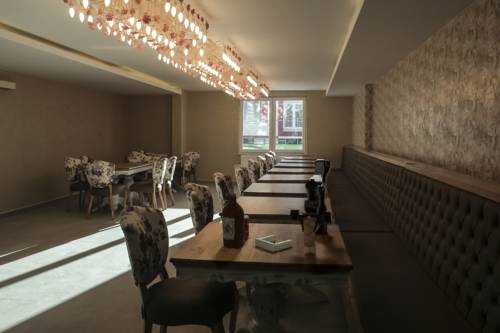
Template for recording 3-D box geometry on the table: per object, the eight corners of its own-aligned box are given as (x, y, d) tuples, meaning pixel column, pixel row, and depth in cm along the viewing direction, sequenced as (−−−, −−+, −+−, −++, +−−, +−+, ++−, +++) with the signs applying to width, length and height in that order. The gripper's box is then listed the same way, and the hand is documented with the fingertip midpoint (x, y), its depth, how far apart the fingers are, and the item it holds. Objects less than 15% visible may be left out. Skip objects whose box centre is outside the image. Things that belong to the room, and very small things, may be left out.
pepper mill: (311, 243, 178) (311, 214, 176) (316, 246, 173) (316, 217, 172) (301, 244, 176) (302, 215, 175) (306, 247, 172) (306, 217, 170)
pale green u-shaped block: (273, 240, 192) (273, 233, 192) (292, 246, 183) (292, 239, 183) (255, 245, 184) (255, 238, 184) (273, 251, 175) (273, 244, 175)
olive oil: (230, 241, 192) (230, 191, 189) (248, 244, 186) (248, 193, 183) (217, 246, 183) (216, 194, 180) (235, 250, 177) (235, 196, 175)
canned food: (236, 240, 193) (235, 218, 192) (232, 235, 201) (232, 214, 200) (250, 238, 195) (250, 217, 194) (246, 234, 203) (246, 214, 202)
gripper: (290, 191, 179) (284, 220, 170) (331, 193, 173) (328, 224, 164) (294, 205, 187) (289, 233, 178) (333, 207, 181) (330, 237, 172)
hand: (308, 232), depth 173 cm, fingers closed on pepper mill, 5 cm apart
